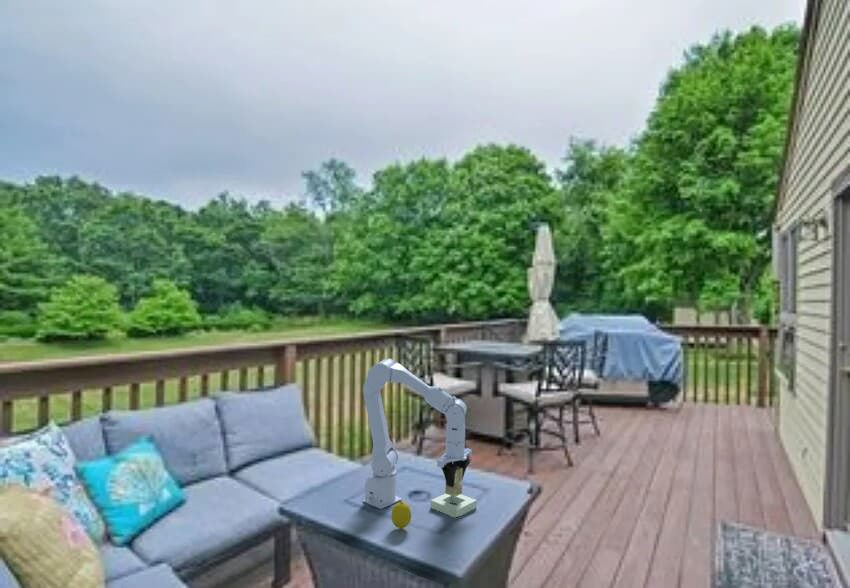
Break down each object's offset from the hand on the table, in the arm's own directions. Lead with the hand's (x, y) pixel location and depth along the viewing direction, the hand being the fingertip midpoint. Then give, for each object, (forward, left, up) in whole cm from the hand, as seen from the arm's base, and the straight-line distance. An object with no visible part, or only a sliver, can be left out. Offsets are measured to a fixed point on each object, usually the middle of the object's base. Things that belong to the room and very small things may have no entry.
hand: (454, 484), depth 178 cm
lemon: (-21, +2, -8) cm, 22 cm away
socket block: (0, 0, -8) cm, 8 cm away
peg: (0, 0, -3) cm, 3 cm away
